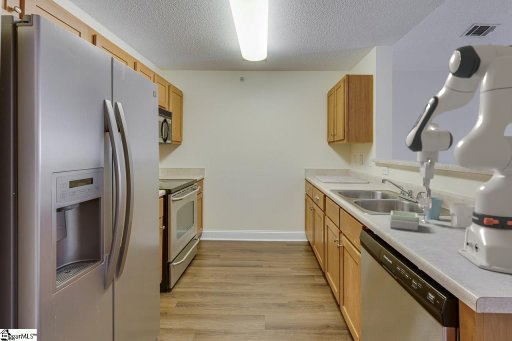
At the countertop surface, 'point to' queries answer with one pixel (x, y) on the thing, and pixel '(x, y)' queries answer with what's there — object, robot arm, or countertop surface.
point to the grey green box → (404, 216)
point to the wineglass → (425, 206)
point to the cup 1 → (434, 208)
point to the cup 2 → (461, 214)
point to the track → (404, 225)
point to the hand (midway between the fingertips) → (426, 187)
